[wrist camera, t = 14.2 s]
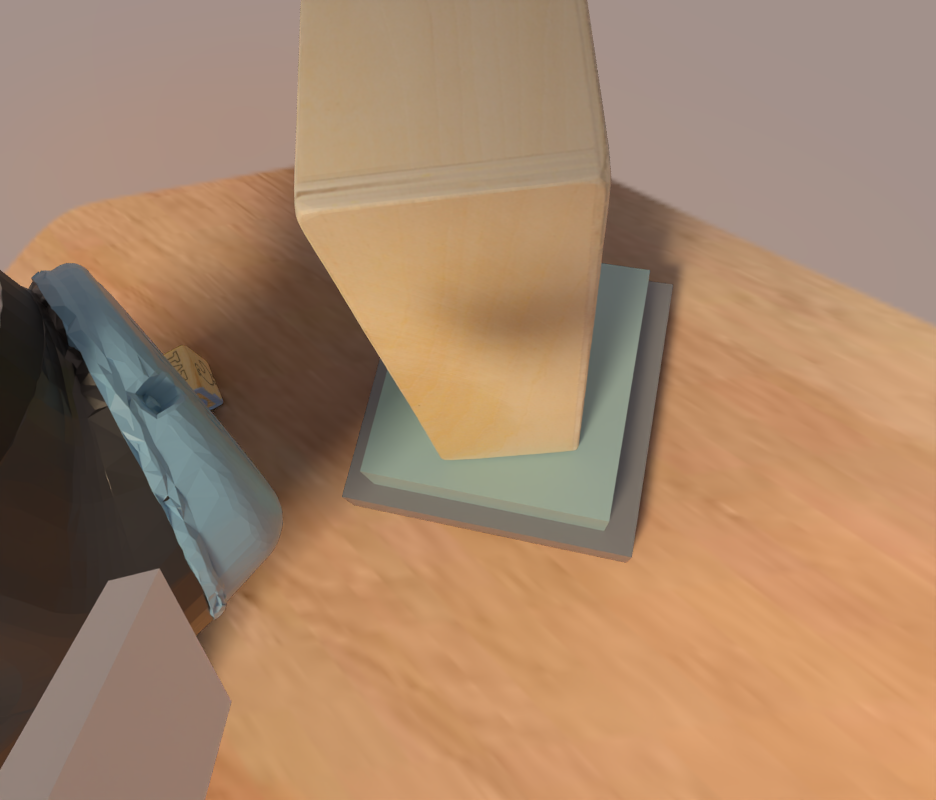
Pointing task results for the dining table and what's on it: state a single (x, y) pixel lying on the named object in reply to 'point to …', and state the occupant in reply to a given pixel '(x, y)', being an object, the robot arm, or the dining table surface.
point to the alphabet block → (196, 374)
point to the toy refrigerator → (461, 204)
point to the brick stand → (536, 475)
